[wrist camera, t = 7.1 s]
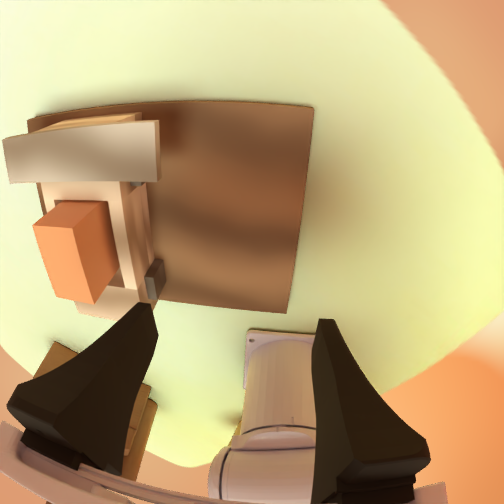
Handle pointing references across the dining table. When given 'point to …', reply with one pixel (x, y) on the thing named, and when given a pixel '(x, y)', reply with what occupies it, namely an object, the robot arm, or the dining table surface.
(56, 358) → the wooden toy
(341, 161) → the dining table surface
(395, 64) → the dining table surface
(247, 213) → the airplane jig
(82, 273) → the orange upright block
